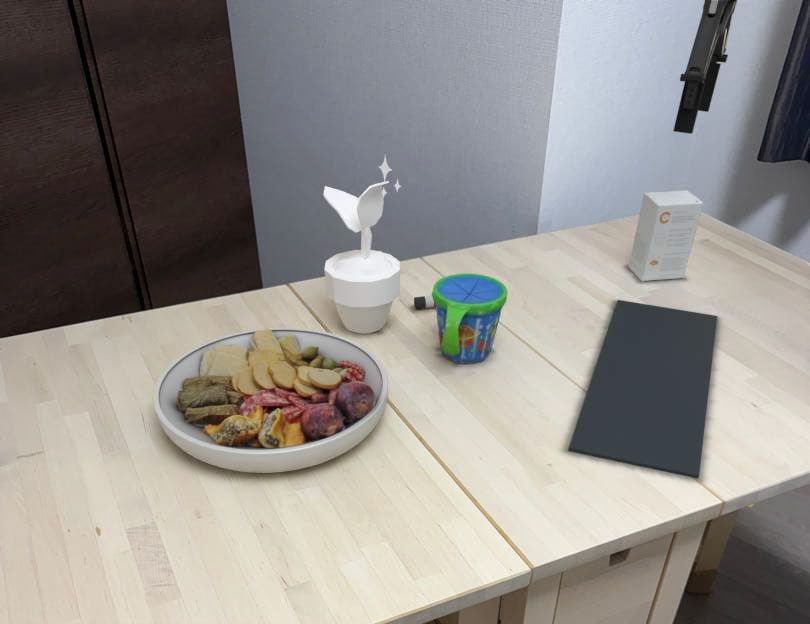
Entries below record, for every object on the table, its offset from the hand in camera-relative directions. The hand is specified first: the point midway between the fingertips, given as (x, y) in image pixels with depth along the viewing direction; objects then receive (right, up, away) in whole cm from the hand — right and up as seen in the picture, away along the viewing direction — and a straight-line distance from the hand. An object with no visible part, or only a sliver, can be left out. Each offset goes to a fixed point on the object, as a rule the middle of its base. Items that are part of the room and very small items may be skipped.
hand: (691, 121), depth 115 cm
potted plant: (-51, -31, +3) cm, 60 cm away
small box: (0, -17, +18) cm, 25 cm away
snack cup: (-35, -37, -3) cm, 51 cm away
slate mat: (-9, -41, -7) cm, 43 cm away
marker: (-35, -26, +8) cm, 45 cm away
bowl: (-62, -48, -15) cm, 80 cm away
